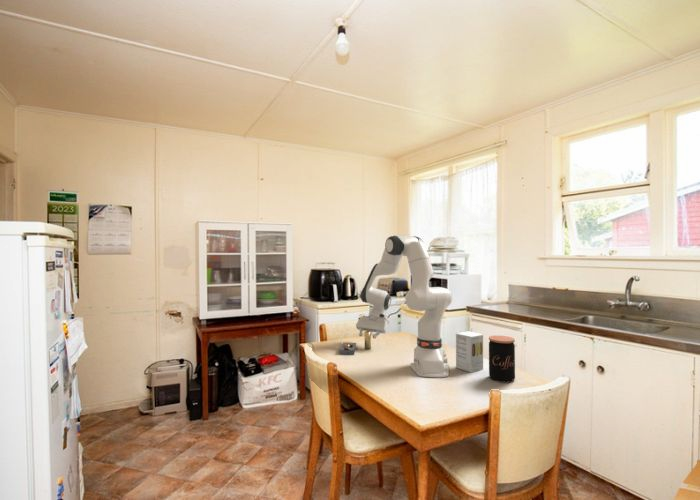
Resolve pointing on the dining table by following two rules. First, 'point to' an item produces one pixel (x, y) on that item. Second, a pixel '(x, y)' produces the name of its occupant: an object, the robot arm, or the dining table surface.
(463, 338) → the supplement box
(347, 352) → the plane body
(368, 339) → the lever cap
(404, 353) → the dining table surface
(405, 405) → the dining table surface
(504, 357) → the coffee jar
